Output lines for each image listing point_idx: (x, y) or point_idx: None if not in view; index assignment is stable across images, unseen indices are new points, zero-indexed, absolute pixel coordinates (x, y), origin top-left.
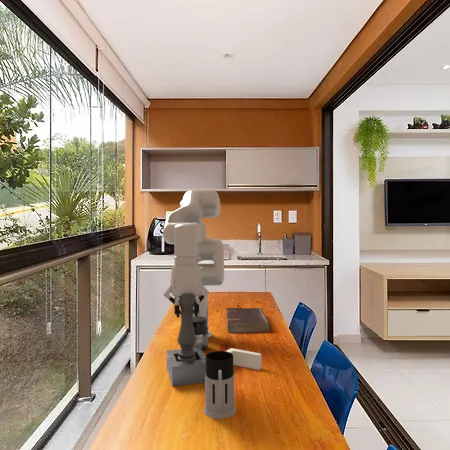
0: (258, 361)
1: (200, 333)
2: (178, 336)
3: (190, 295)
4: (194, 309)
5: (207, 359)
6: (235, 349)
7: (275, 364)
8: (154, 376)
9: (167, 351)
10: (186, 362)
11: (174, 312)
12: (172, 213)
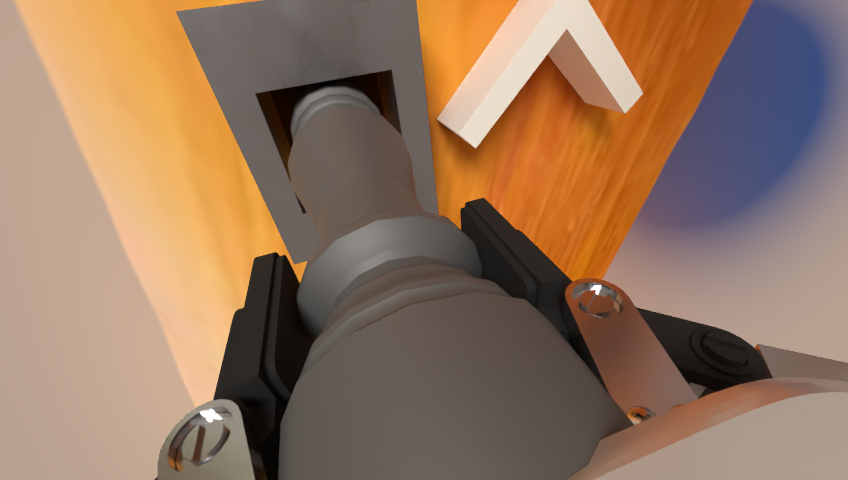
0: (606, 107)
1: None
2: (297, 196)
3: None
4: (487, 275)
5: None
6: (582, 9)
7: (655, 51)
8: (185, 135)
9: (194, 39)
10: None
11: (237, 319)
12: None
